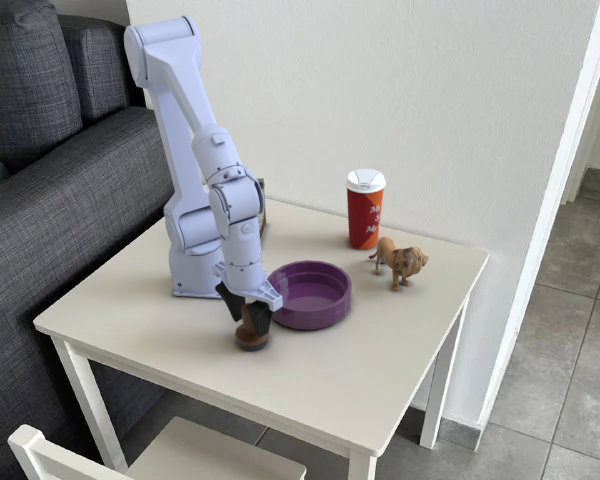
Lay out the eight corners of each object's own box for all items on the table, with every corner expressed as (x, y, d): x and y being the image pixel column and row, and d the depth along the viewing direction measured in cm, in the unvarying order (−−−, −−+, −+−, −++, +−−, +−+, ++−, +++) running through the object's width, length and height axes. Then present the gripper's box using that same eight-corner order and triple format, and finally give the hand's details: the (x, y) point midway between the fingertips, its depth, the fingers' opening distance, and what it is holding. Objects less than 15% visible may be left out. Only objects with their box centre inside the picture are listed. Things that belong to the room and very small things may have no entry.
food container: (239, 220, 135) (234, 176, 127) (267, 221, 134) (264, 177, 127) (227, 251, 126) (220, 206, 119) (257, 253, 125) (252, 207, 118)
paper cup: (380, 253, 123) (384, 187, 113) (342, 251, 125) (342, 185, 115) (383, 232, 129) (387, 167, 119) (346, 230, 130) (347, 165, 120)
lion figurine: (428, 291, 114) (434, 248, 108) (406, 301, 112) (410, 258, 106) (378, 255, 123) (381, 213, 117) (357, 264, 121) (358, 222, 115)
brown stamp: (233, 351, 105) (228, 317, 100) (240, 329, 109) (236, 296, 103) (265, 353, 104) (262, 319, 99) (272, 332, 108) (269, 298, 103)
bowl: (259, 328, 109) (257, 308, 105) (275, 278, 119) (273, 258, 116) (346, 335, 107) (346, 314, 103) (354, 283, 117) (355, 262, 114)
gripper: (295, 262, 92) (298, 333, 102) (231, 228, 100) (240, 297, 110) (260, 283, 89) (267, 354, 99) (196, 246, 96) (209, 316, 106)
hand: (251, 326), depth 104 cm, fingers open, 5 cm apart
